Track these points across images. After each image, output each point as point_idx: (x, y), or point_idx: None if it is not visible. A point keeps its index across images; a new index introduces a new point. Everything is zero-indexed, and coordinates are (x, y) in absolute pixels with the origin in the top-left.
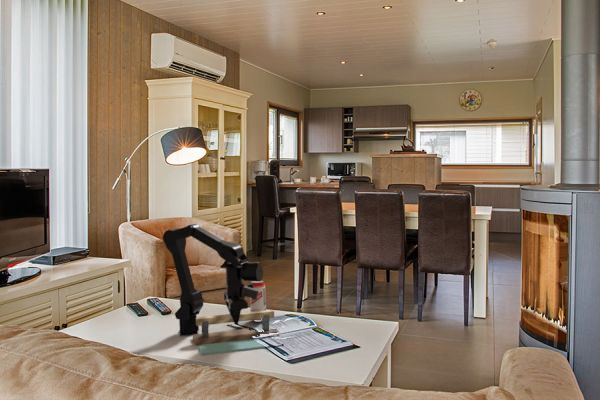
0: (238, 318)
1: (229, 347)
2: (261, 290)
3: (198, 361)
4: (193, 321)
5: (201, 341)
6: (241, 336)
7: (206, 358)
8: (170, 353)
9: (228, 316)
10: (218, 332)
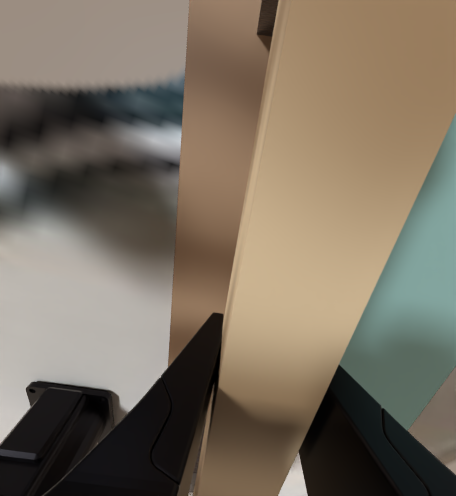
0: (343, 376)
1: (418, 354)
2: None
3: (440, 453)
4: (57, 474)
5: None
6: None
7: (435, 431)
8: (294, 484)
9: (283, 475)
10: (180, 351)
